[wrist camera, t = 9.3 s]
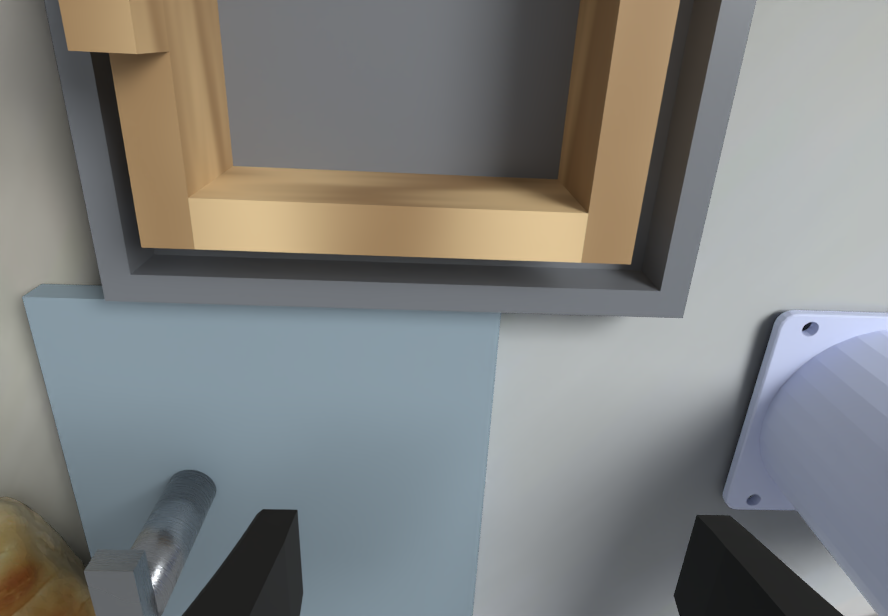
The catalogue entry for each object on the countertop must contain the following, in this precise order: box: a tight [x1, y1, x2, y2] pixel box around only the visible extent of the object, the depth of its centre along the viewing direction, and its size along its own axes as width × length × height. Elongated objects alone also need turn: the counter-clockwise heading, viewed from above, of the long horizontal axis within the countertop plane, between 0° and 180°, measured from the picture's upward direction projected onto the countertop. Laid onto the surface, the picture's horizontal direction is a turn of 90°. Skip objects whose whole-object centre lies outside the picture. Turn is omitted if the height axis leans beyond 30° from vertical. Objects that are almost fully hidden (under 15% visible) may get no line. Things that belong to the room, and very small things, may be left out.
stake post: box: [84, 470, 216, 616], centre depth 18 cm, size 2×4×5 cm, turn 177°
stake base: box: [22, 284, 501, 616], centre depth 21 cm, size 14×14×1 cm
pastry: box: [0, 497, 96, 616], centre depth 22 cm, size 9×7×4 cm
